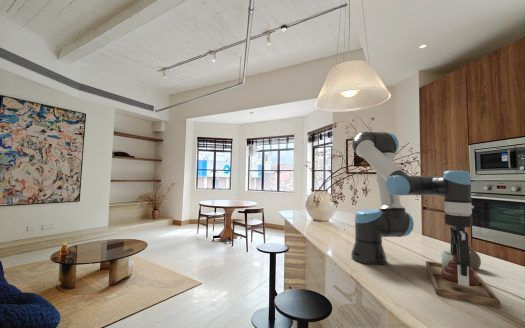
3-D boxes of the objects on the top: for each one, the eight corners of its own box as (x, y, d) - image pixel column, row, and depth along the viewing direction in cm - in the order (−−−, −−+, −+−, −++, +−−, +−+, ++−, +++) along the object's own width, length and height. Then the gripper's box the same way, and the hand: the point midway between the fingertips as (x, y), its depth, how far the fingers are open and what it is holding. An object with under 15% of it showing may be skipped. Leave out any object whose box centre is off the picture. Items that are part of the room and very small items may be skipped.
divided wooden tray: (435, 294, 79) (435, 288, 79) (425, 265, 106) (425, 260, 106) (500, 308, 71) (500, 301, 71) (471, 272, 98) (471, 268, 98)
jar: (443, 274, 94) (442, 251, 94) (440, 269, 99) (440, 247, 100) (463, 278, 91) (463, 254, 91) (460, 272, 96) (459, 250, 97)
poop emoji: (440, 281, 82) (439, 253, 83) (441, 273, 89) (441, 248, 89) (479, 290, 76) (478, 260, 76) (477, 281, 82) (476, 254, 83)
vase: (485, 271, 100) (484, 250, 100) (466, 270, 101) (465, 249, 102) (474, 265, 107) (473, 246, 107) (456, 264, 108) (456, 245, 108)
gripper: (481, 219, 72) (484, 295, 71) (464, 211, 91) (466, 271, 89) (450, 217, 76) (452, 289, 75) (440, 210, 95) (441, 267, 93)
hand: (460, 279), depth 82 cm, fingers closed on poop emoji, 9 cm apart
